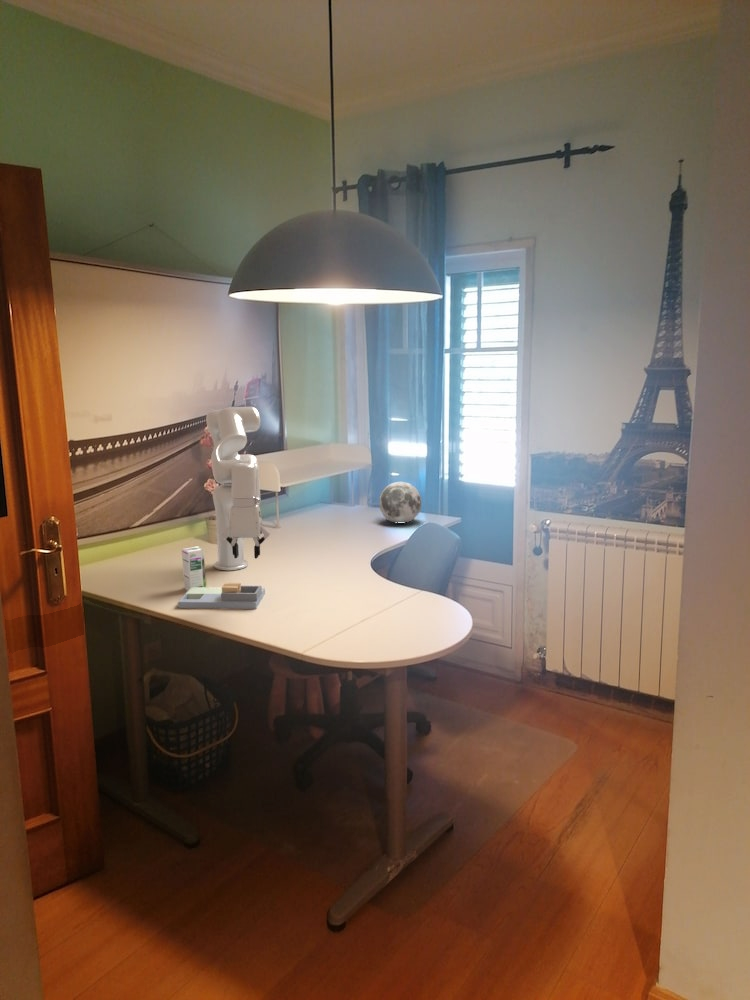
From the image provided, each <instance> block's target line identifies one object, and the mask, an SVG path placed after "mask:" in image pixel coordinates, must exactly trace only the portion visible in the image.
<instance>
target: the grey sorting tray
mask: <svg viewBox="0 0 750 1000" xmlns="http://www.w3.org/2000/svg"><path fill="white" fill-rule="evenodd" d="M265 594H266V589H265V587H263V586H262V585H241V593H222V587H221V586H220V587H219V586H217V587H215V586H214V587H211V586H210V587H207V586H206V587H191V588H190V589H189V590H188V591H186V592H185V594H184V595H182V597H181V598H180V599H179V600H177V601H178V602H177V605H178V609H236V610H237V609H240V610H241V609H242V610H243V609H246V610H247V609H248V610H253V609H255V610H256V609H257V608H258V606H259V605H260V603H261V601H262V600H263V598H264V596H265Z"/></svg>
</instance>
